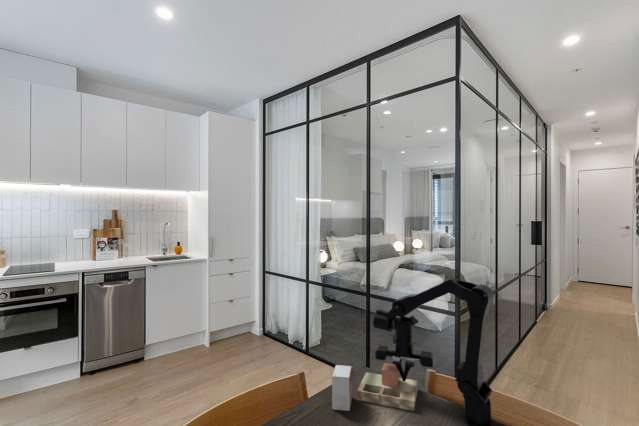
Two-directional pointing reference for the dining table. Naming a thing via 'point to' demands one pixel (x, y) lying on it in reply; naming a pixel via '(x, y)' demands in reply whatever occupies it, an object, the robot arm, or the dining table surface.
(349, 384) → the small box
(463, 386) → the robot arm
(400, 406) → the beige divided tray
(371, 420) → the dining table surface
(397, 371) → the block
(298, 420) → the dining table surface
